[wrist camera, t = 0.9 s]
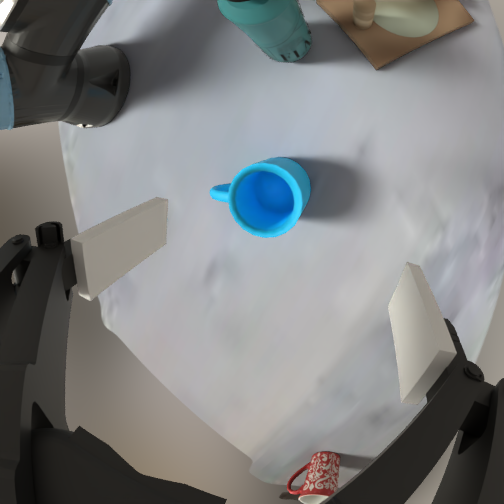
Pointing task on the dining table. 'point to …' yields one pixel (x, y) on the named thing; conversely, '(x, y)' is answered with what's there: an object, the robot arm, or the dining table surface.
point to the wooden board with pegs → (395, 24)
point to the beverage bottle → (271, 26)
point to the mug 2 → (318, 478)
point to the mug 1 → (266, 196)
